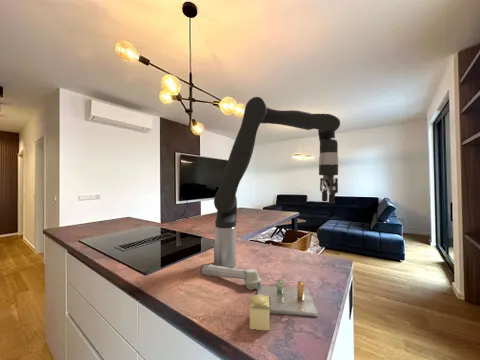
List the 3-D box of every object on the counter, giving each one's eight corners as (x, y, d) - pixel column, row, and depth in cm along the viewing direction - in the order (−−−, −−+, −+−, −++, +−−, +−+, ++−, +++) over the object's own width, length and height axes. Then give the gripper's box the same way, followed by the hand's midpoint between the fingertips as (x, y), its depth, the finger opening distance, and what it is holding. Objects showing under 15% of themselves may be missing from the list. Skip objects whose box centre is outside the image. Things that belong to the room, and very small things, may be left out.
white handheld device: (207, 262, 86) (261, 265, 75) (208, 278, 86) (264, 284, 74) (198, 266, 82) (255, 271, 70) (200, 283, 81) (258, 291, 70)
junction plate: (256, 312, 59) (256, 291, 59) (257, 288, 72) (257, 271, 72) (317, 316, 57) (317, 295, 57) (307, 291, 70) (307, 273, 70)
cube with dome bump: (249, 329, 52) (249, 303, 52) (250, 316, 57) (250, 292, 57) (269, 330, 52) (269, 304, 52) (268, 317, 57) (269, 293, 57)
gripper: (314, 165, 95) (314, 200, 94) (325, 162, 80) (324, 204, 80) (331, 165, 94) (331, 200, 94) (344, 162, 80) (344, 204, 80)
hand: (328, 202), depth 87 cm, fingers open, 8 cm apart
